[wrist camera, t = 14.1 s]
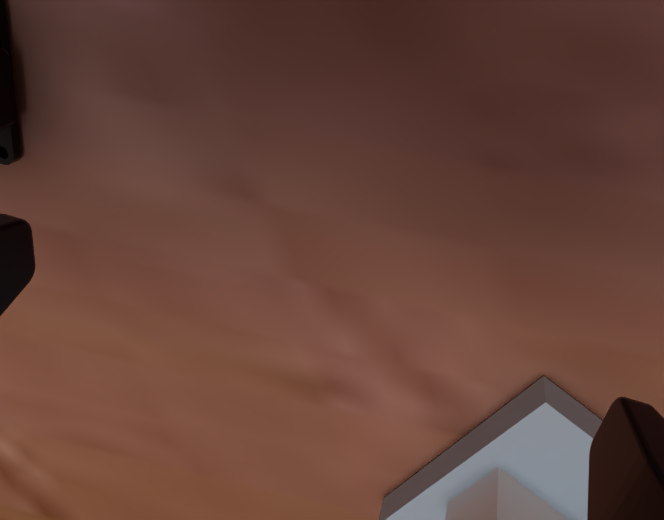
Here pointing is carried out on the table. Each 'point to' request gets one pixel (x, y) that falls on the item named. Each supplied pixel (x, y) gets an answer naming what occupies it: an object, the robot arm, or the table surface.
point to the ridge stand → (508, 465)
